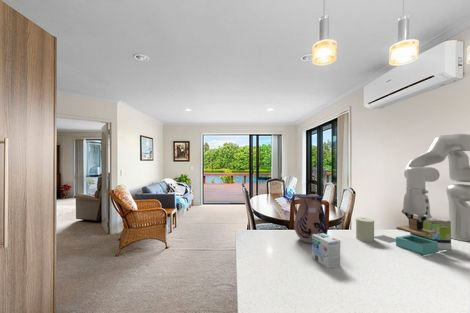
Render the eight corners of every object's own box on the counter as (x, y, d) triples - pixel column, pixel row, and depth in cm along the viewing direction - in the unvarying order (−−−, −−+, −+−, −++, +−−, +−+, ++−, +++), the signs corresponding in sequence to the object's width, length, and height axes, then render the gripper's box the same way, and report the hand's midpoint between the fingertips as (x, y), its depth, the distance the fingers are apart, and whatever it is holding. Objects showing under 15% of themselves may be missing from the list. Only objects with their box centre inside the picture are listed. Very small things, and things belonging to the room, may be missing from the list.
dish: (410, 244, 121) (410, 234, 121) (437, 252, 109) (437, 242, 110) (396, 246, 116) (395, 237, 116) (422, 255, 105) (422, 245, 105)
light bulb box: (311, 257, 101) (311, 233, 102) (323, 256, 104) (323, 232, 104) (328, 268, 91) (328, 241, 92) (341, 266, 93) (341, 240, 94)
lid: (410, 227, 120) (410, 215, 121) (436, 233, 110) (436, 221, 110) (396, 229, 116) (396, 217, 116) (421, 235, 105) (421, 223, 106)
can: (370, 237, 130) (370, 217, 130) (377, 243, 121) (377, 221, 121) (353, 236, 131) (353, 216, 132) (359, 242, 122) (359, 220, 122)
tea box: (452, 250, 113) (451, 220, 113) (432, 250, 113) (431, 220, 113) (427, 240, 128) (426, 213, 128) (409, 239, 128) (409, 213, 128)
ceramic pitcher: (320, 249, 111) (320, 199, 112) (282, 239, 125) (283, 194, 126) (332, 240, 124) (332, 195, 125) (296, 232, 138) (296, 191, 139)
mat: (383, 236, 133) (383, 235, 133) (401, 241, 124) (401, 240, 124) (372, 238, 130) (372, 237, 130) (389, 243, 120) (389, 242, 120)
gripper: (439, 193, 107) (439, 232, 107) (403, 189, 123) (403, 223, 122) (430, 194, 105) (430, 233, 104) (394, 189, 120) (394, 224, 119)
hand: (415, 227), depth 113 cm, fingers closed on lid, 3 cm apart
